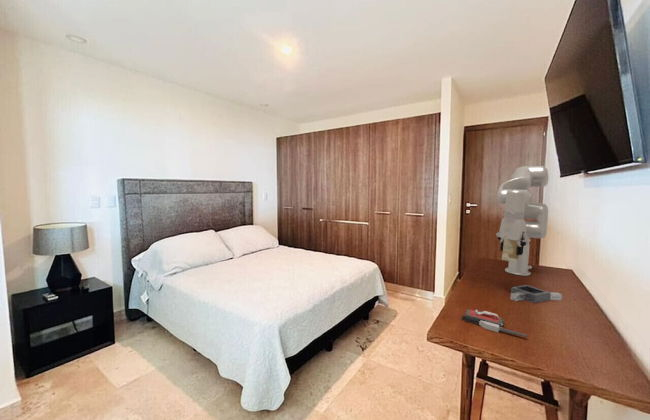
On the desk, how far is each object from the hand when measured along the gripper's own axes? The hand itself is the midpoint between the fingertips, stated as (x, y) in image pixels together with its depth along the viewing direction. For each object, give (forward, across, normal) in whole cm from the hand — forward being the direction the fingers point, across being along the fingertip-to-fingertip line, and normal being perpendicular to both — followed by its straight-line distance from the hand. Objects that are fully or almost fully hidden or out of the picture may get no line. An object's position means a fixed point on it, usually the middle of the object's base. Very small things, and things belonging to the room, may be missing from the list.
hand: (511, 252), depth 131 cm
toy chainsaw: (+20, +22, -38) cm, 48 cm away
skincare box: (+4, 0, 0) cm, 4 cm away
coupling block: (+20, +8, +4) cm, 21 cm away
